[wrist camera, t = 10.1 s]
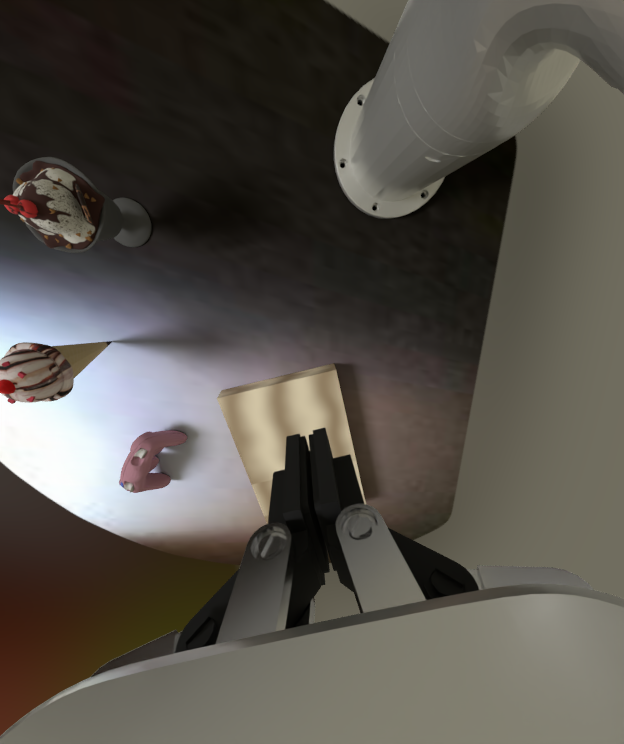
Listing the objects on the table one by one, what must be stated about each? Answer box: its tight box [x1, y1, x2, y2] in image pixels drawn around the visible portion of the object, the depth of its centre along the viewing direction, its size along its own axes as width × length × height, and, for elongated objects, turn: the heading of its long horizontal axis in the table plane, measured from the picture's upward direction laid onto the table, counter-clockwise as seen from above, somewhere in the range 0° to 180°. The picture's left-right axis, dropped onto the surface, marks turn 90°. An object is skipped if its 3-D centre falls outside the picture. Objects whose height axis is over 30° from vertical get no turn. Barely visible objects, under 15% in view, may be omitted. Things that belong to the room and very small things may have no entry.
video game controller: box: [119, 430, 187, 493], centre depth 41 cm, size 10×5×7 cm, turn 154°
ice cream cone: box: [0, 341, 112, 404], centre depth 30 cm, size 6×6×15 cm
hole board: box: [217, 363, 366, 524], centre depth 43 cm, size 16×24×2 cm, turn 13°
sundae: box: [0, 157, 151, 253], centre depth 25 cm, size 7×7×15 cm
